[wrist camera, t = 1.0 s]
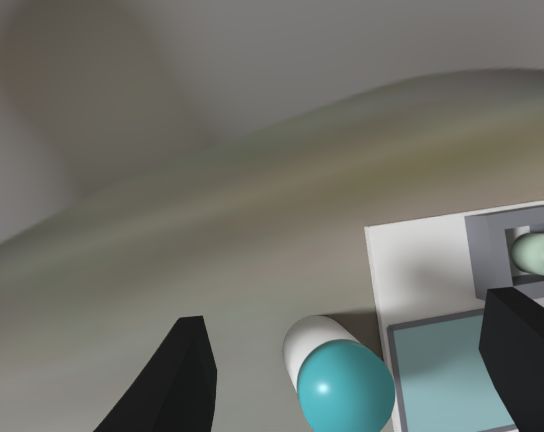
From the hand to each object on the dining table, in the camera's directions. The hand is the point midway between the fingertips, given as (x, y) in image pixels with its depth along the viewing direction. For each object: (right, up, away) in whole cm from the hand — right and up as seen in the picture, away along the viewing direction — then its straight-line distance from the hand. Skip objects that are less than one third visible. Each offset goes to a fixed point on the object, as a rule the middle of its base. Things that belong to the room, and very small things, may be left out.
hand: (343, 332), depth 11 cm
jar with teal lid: (0, -4, +11) cm, 12 cm away
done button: (+11, +1, +10) cm, 15 cm away
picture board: (+10, -3, +12) cm, 16 cm away
